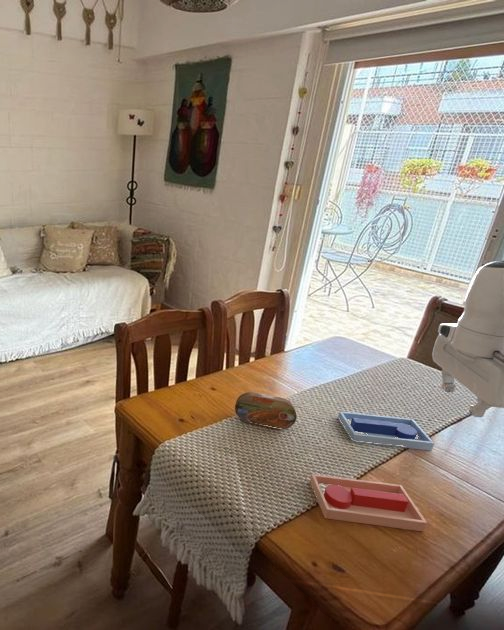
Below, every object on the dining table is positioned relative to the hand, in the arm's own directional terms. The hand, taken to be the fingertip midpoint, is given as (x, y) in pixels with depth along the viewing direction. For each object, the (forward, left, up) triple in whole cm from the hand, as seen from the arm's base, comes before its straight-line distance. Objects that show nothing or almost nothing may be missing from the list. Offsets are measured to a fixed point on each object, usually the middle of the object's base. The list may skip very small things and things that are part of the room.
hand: (460, 402), depth 91 cm
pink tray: (+18, +10, -21) cm, 29 cm away
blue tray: (+3, -17, -21) cm, 27 cm away
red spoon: (+19, +10, -20) cm, 29 cm away
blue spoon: (+3, -17, -20) cm, 26 cm away
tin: (+33, -16, -21) cm, 42 cm away
